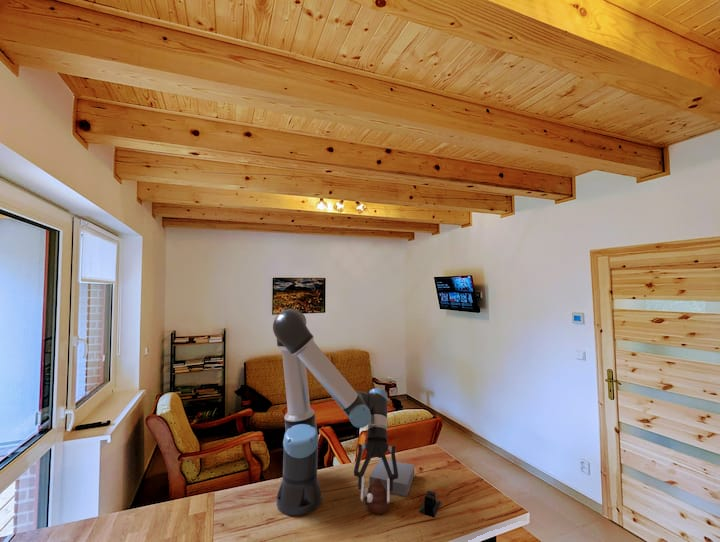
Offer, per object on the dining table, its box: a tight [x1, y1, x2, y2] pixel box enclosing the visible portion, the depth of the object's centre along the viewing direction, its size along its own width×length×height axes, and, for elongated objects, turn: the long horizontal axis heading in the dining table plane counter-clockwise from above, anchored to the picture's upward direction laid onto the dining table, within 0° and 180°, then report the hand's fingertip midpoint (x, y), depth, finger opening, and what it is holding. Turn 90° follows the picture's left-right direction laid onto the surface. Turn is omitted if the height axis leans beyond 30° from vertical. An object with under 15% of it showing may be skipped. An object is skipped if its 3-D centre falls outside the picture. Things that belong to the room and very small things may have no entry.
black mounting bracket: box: [417, 490, 442, 519], centre depth 112 cm, size 12×7×5 cm, turn 153°
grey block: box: [368, 458, 415, 497], centre depth 126 cm, size 14×14×4 cm
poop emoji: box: [363, 478, 391, 515], centre depth 112 cm, size 10×8×9 cm
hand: (375, 501), depth 108 cm, fingers closed on poop emoji, 8 cm apart
